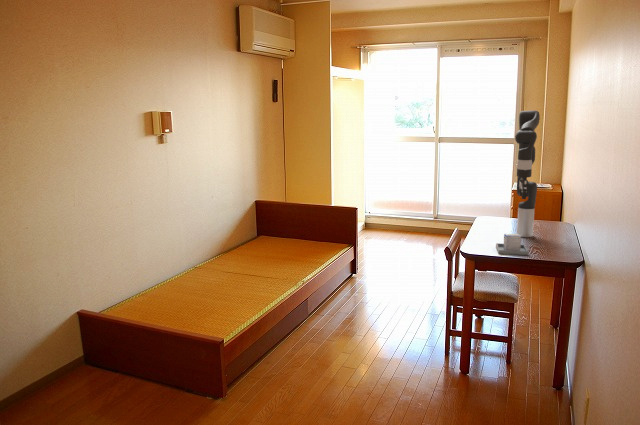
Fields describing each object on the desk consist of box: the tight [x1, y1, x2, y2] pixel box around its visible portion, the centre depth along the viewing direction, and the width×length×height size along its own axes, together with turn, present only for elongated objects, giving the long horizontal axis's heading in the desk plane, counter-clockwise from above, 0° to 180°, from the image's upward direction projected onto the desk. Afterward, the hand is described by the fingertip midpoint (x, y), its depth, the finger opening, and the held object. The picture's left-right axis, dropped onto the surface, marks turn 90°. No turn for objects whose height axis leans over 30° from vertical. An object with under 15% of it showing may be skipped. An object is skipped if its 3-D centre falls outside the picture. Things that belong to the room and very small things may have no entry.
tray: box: [495, 242, 530, 257], centre depth 286 cm, size 15×15×2 cm
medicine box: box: [503, 233, 522, 251], centre depth 285 cm, size 8×4×9 cm, turn 89°
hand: (522, 197), depth 288 cm, fingers open, 8 cm apart
